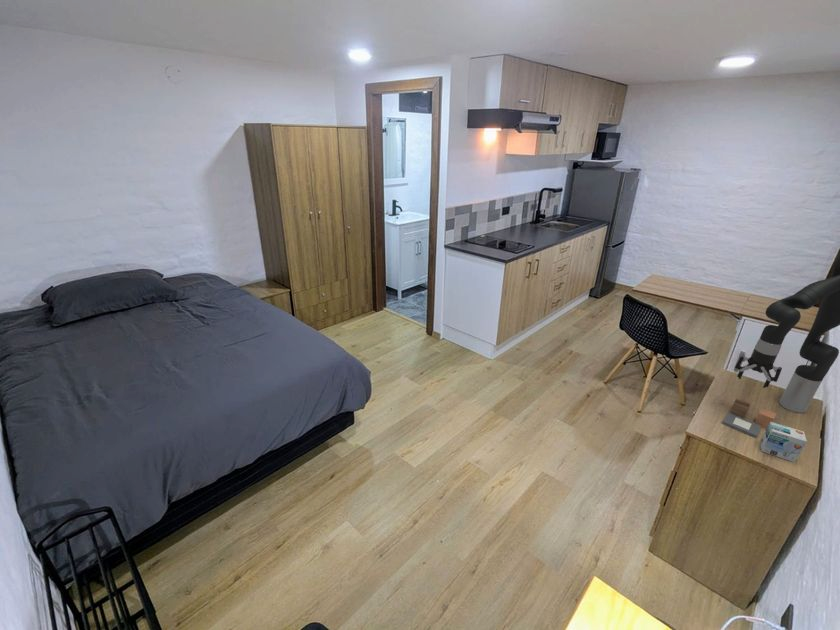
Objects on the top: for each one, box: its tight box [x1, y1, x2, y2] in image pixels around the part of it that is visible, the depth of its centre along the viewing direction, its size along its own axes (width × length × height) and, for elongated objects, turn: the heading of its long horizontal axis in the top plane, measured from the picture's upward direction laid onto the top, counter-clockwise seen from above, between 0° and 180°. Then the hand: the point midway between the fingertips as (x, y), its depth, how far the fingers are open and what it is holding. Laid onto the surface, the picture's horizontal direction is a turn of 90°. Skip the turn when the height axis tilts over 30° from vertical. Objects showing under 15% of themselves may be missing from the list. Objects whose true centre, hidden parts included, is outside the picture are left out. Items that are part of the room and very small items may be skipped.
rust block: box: [754, 407, 777, 430], centre depth 170 cm, size 5×5×6 cm
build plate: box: [721, 411, 762, 439], centre depth 170 cm, size 9×12×1 cm
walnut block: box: [729, 398, 751, 419], centre depth 175 cm, size 5×5×6 cm
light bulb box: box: [759, 421, 808, 463], centre depth 154 cm, size 11×7×11 cm, turn 56°
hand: (751, 382), depth 169 cm, fingers open, 8 cm apart
